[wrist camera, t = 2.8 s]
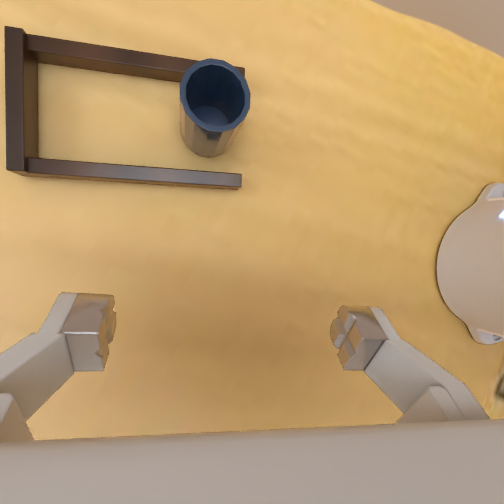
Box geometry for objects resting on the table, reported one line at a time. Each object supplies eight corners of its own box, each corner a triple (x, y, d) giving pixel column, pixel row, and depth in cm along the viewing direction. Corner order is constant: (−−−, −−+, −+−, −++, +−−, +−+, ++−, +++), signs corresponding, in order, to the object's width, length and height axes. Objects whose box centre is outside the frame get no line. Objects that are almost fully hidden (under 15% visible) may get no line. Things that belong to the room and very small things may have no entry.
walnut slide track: (241, 77, 28) (246, 63, 26) (237, 190, 29) (242, 186, 27) (20, 44, 24) (3, 25, 22) (22, 175, 25) (5, 170, 23)
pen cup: (233, 107, 28) (251, 64, 21) (232, 159, 29) (249, 134, 21) (181, 100, 27) (180, 53, 20) (180, 155, 28) (179, 127, 20)
